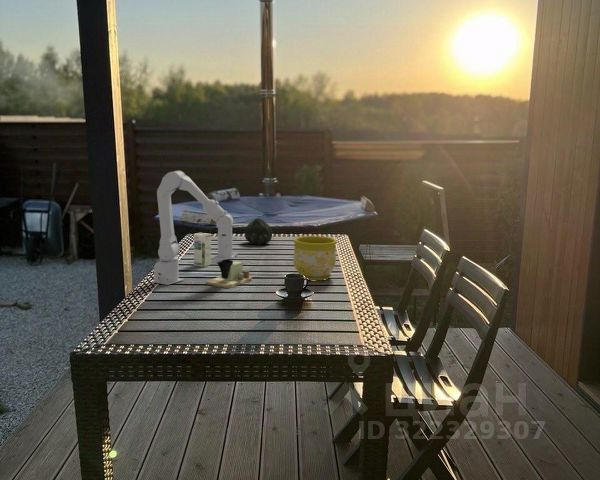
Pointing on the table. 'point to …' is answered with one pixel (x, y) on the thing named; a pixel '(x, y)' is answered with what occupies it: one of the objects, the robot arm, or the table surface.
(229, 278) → the block
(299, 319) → the table surface
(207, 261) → the printed cardboard box
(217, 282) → the board
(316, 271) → the flowerpot
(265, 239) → the squash
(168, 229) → the robot arm
